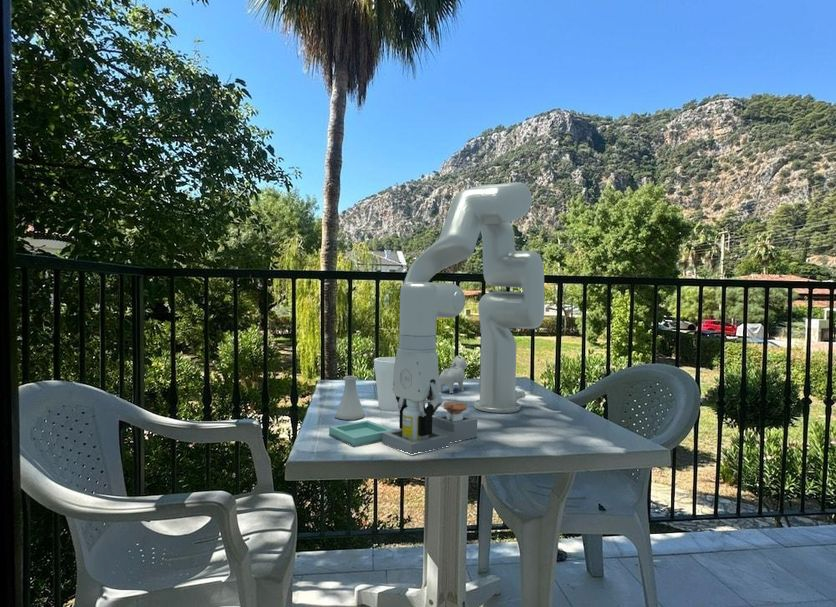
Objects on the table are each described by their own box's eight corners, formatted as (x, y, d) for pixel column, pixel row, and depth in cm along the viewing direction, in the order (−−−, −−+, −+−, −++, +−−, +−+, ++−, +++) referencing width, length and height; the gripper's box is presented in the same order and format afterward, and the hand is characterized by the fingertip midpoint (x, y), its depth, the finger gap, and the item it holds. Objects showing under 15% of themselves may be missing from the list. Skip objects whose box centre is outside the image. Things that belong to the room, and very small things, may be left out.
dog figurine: (470, 388, 169) (471, 356, 168) (451, 395, 158) (452, 360, 157) (456, 386, 171) (457, 354, 171) (436, 392, 161) (437, 358, 160)
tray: (367, 428, 119) (368, 420, 119) (393, 438, 111) (394, 430, 111) (329, 435, 113) (329, 427, 113) (353, 447, 105) (354, 438, 105)
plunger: (454, 431, 118) (455, 400, 118) (470, 436, 114) (471, 404, 114) (438, 434, 115) (438, 403, 114) (453, 440, 111) (454, 407, 111)
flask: (369, 415, 131) (370, 375, 131) (356, 422, 124) (357, 380, 124) (343, 412, 134) (344, 373, 133) (329, 419, 127) (330, 378, 126)
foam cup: (395, 414, 133) (396, 363, 132) (366, 408, 138) (367, 359, 137) (415, 407, 141) (416, 359, 141) (387, 402, 146) (388, 356, 145)
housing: (450, 428, 120) (451, 411, 120) (481, 438, 113) (482, 420, 113) (381, 443, 108) (382, 423, 108) (411, 455, 101) (411, 435, 100)
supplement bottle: (429, 441, 110) (430, 395, 110) (427, 449, 104) (428, 401, 104) (403, 440, 110) (404, 394, 110) (400, 448, 105) (401, 400, 105)
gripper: (378, 340, 111) (376, 424, 112) (430, 349, 98) (428, 445, 98) (406, 338, 116) (404, 419, 116) (459, 347, 102) (457, 438, 103)
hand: (415, 430), depth 107 cm, fingers closed on supplement bottle, 5 cm apart
